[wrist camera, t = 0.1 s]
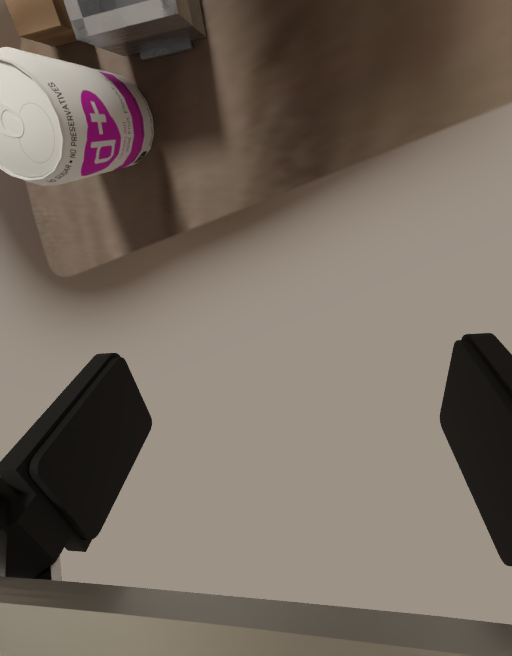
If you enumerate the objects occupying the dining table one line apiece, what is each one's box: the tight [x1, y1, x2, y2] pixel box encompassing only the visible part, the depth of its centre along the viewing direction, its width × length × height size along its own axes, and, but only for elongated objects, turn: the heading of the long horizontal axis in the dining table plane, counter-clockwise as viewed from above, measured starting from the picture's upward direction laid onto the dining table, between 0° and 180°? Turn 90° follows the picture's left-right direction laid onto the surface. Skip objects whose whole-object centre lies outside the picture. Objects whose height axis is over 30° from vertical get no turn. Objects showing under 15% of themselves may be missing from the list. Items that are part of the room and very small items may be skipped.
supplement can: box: [0, 47, 154, 186], centre depth 28 cm, size 8×8×15 cm
